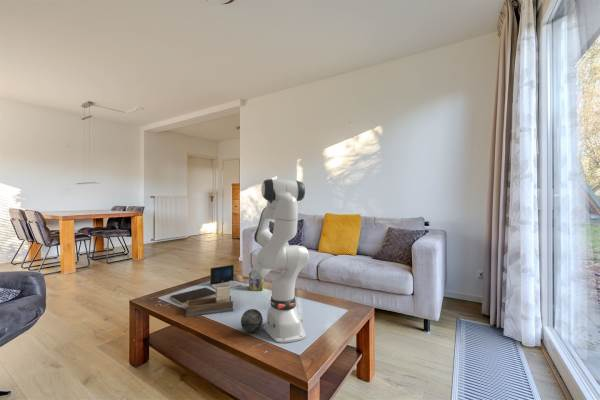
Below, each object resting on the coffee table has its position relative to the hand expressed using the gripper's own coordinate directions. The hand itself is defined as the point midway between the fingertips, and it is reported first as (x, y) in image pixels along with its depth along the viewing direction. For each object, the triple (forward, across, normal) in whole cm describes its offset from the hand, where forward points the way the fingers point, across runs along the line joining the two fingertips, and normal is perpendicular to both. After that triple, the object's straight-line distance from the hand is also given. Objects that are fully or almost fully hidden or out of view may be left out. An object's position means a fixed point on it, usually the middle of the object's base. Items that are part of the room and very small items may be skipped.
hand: (251, 277), depth 160 cm
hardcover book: (+33, -22, -11) cm, 41 cm away
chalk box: (+5, -26, +17) cm, 31 cm away
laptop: (+18, -38, +4) cm, 43 cm away
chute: (+27, 0, -6) cm, 28 cm away
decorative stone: (+15, +34, +7) cm, 38 cm away
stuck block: (+21, 0, -2) cm, 21 cm away
